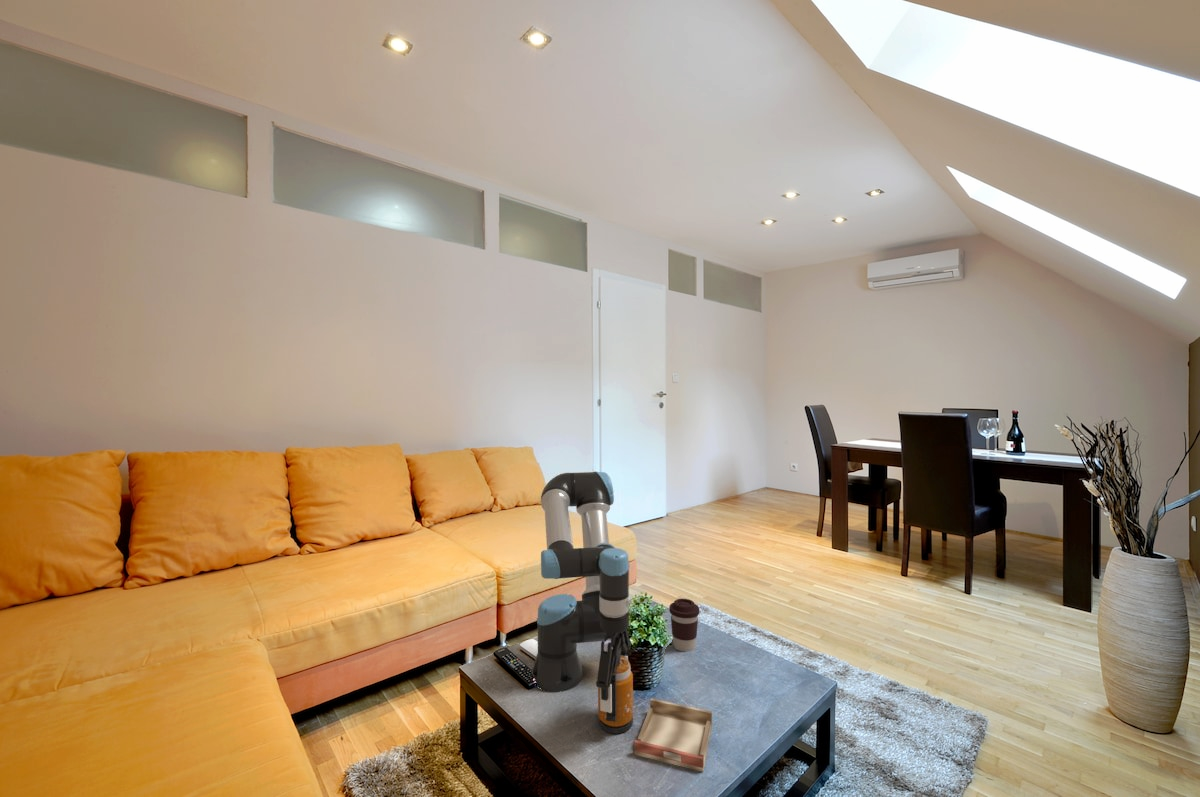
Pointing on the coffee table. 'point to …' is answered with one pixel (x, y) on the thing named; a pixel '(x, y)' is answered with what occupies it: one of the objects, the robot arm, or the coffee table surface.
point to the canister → (619, 698)
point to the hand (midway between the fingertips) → (614, 694)
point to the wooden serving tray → (675, 734)
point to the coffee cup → (684, 624)
